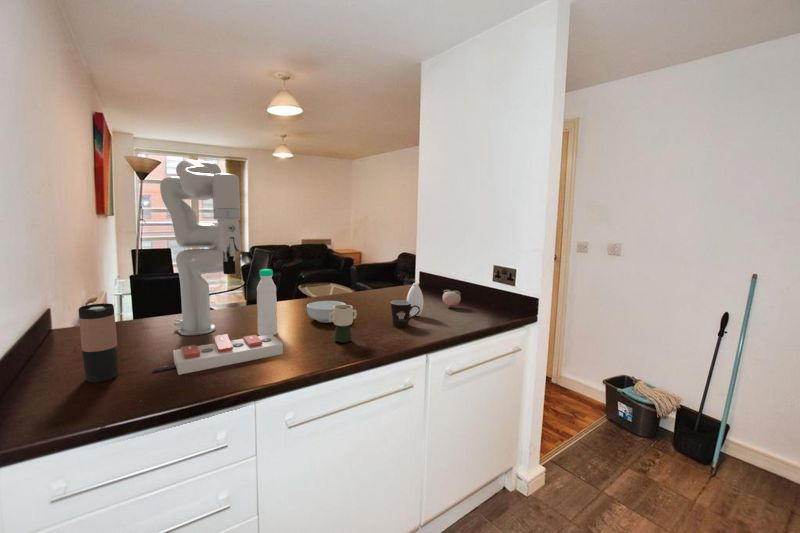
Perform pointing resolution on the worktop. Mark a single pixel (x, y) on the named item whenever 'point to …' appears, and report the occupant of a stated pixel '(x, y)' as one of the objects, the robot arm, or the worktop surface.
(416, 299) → the sauce bottle
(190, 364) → the power strip
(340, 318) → the character mug
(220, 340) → the rocker middle
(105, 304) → the travel mug
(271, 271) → the water bottle
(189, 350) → the rocker left
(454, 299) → the pale pink rounded piece
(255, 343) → the rocker right
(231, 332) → the worktop surface
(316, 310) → the cereal bowl
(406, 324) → the coffee mug
